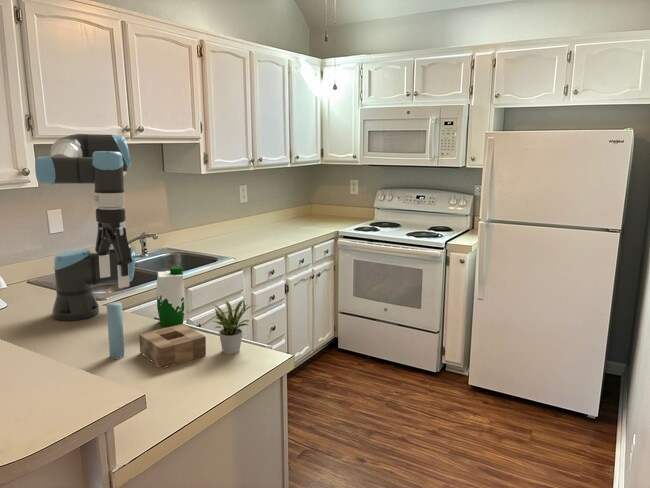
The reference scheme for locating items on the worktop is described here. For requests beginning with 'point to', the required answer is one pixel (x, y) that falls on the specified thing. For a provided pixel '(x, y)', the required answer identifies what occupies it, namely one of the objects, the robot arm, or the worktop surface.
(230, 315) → the house plant
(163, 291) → the milk carton
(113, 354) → the peg
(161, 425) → the worktop surface
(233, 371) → the worktop surface
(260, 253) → the worktop surface
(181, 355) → the socket block
